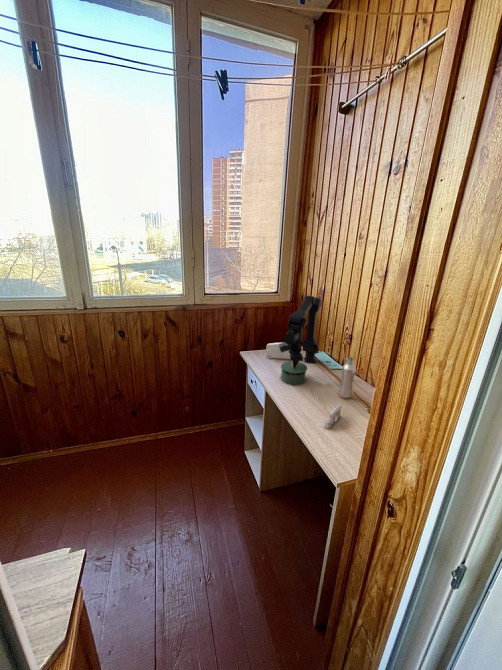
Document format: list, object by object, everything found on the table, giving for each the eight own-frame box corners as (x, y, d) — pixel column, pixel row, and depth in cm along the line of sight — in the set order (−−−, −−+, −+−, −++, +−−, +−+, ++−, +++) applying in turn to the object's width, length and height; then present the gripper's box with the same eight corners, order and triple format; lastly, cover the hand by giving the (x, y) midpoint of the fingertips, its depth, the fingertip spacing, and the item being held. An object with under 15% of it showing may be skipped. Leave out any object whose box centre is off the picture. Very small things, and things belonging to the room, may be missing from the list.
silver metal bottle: (352, 394, 144) (358, 356, 137) (351, 401, 138) (358, 362, 131) (338, 391, 146) (343, 354, 139) (337, 398, 140) (343, 360, 133)
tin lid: (280, 362, 162) (281, 353, 160) (305, 363, 161) (306, 354, 159) (281, 373, 149) (282, 364, 147) (308, 375, 148) (309, 365, 147)
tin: (280, 373, 164) (281, 364, 162) (303, 374, 163) (304, 365, 161) (281, 384, 152) (282, 374, 150) (306, 385, 151) (307, 376, 149)
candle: (288, 375, 160) (288, 369, 158) (297, 376, 159) (297, 369, 158) (288, 380, 155) (289, 373, 154) (298, 380, 155) (298, 374, 153)
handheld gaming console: (267, 359, 185) (291, 358, 182) (267, 361, 183) (291, 360, 179) (266, 342, 182) (290, 342, 178) (265, 344, 179) (289, 343, 176)
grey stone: (328, 429, 118) (330, 417, 116) (324, 427, 119) (325, 415, 117) (340, 416, 127) (342, 404, 125) (336, 414, 128) (338, 402, 126)
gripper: (279, 331, 159) (278, 358, 164) (281, 344, 141) (279, 373, 146) (300, 332, 158) (298, 358, 163) (304, 345, 140) (301, 374, 146)
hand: (294, 366), depth 155 cm, fingers closed on tin lid, 2 cm apart
